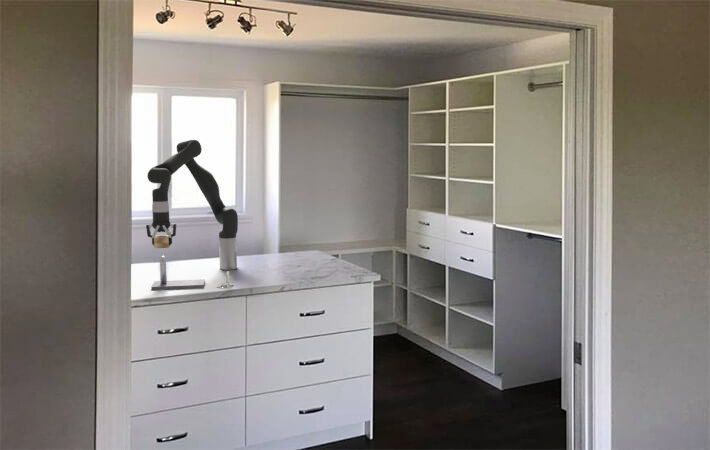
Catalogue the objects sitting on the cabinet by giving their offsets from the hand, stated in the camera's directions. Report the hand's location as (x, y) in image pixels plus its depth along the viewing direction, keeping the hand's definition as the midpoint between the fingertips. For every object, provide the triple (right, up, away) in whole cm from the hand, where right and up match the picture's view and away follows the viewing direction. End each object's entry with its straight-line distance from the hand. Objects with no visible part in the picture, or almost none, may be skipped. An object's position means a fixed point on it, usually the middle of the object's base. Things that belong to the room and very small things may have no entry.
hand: (162, 245), depth 302 cm
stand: (+29, -20, +3) cm, 36 cm away
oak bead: (0, -1, 0) cm, 1 cm away
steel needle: (0, -18, +3) cm, 19 cm away
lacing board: (+7, -20, +4) cm, 21 cm away
